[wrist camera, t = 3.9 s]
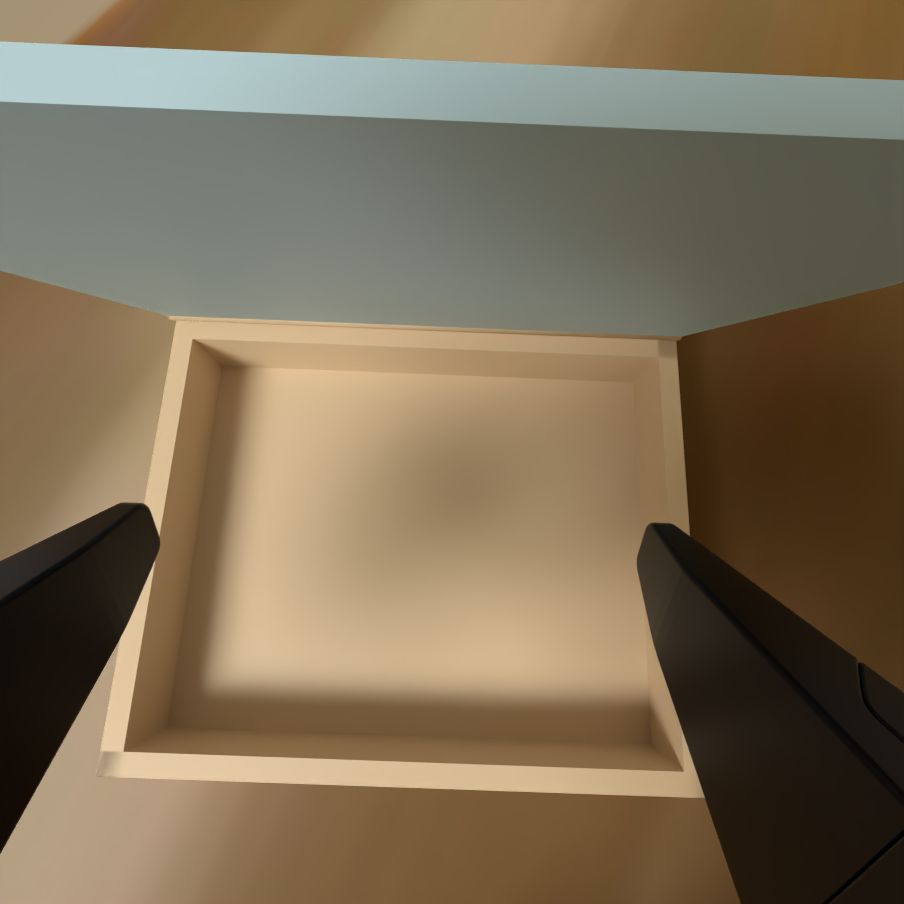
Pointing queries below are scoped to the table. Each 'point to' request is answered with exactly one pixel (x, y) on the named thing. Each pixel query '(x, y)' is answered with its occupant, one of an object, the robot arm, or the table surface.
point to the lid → (445, 190)
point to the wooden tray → (405, 564)
